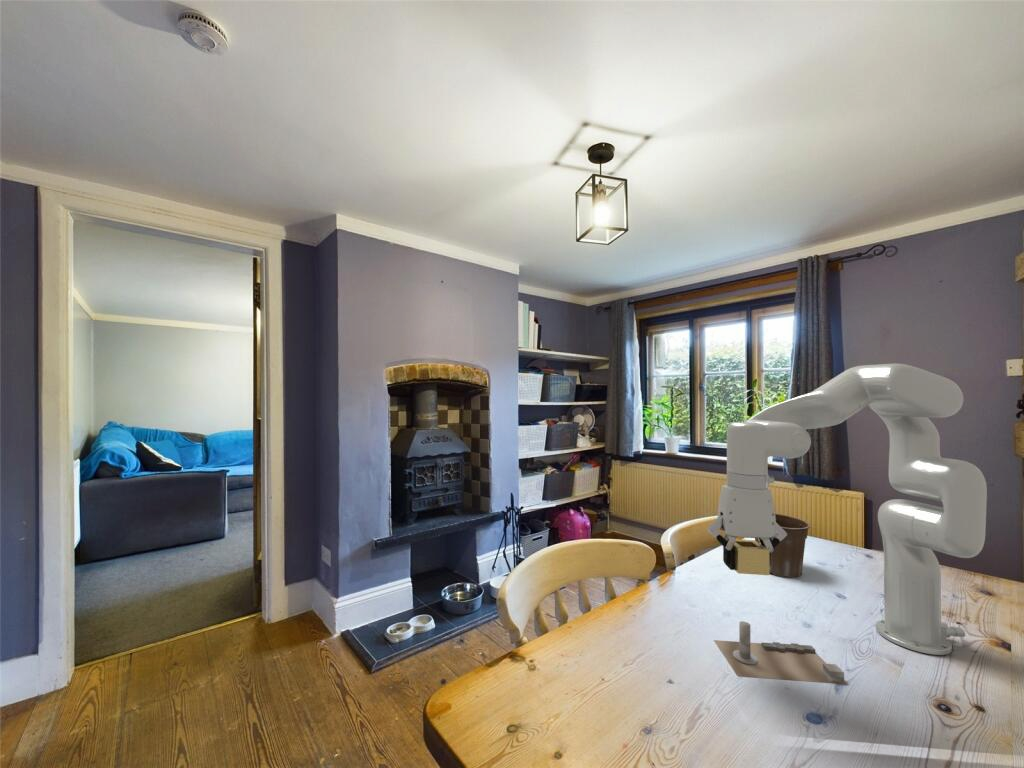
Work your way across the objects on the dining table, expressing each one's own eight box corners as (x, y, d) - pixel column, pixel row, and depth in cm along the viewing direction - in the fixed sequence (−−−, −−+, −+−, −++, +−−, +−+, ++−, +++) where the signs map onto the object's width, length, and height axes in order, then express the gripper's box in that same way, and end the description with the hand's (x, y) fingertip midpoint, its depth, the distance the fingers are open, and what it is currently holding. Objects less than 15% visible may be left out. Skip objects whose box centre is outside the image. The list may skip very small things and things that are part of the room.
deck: (809, 652, 91) (809, 613, 91) (848, 690, 79) (847, 646, 79) (713, 645, 93) (713, 608, 93) (737, 682, 81) (737, 639, 81)
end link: (755, 564, 90) (754, 540, 90) (769, 575, 84) (769, 549, 84) (725, 562, 90) (725, 538, 91) (738, 573, 84) (738, 548, 85)
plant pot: (823, 582, 126) (823, 528, 127) (769, 581, 126) (769, 527, 127) (788, 560, 142) (788, 513, 143) (740, 560, 143) (740, 512, 143)
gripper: (780, 479, 91) (780, 563, 90) (697, 476, 92) (697, 559, 92) (801, 486, 83) (801, 578, 83) (710, 483, 85) (710, 573, 84)
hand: (746, 567), depth 87 cm, fingers closed on end link, 6 cm apart
